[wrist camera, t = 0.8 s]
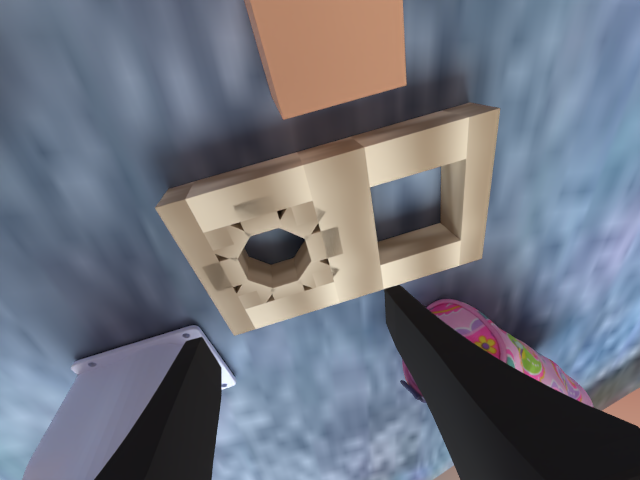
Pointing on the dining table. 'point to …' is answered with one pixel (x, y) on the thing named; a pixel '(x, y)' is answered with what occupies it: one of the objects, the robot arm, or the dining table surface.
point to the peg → (328, 50)
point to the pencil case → (499, 349)
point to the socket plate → (335, 217)
